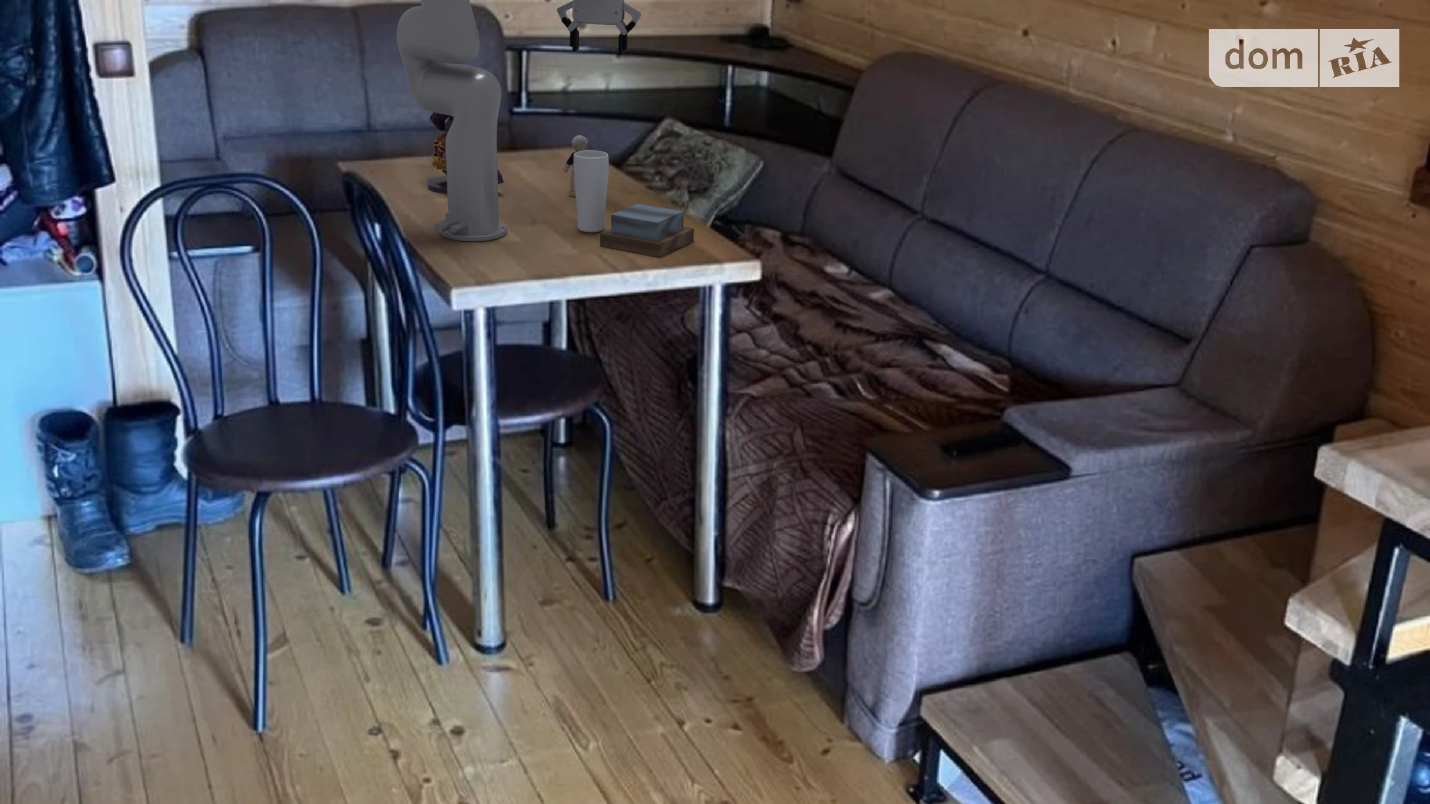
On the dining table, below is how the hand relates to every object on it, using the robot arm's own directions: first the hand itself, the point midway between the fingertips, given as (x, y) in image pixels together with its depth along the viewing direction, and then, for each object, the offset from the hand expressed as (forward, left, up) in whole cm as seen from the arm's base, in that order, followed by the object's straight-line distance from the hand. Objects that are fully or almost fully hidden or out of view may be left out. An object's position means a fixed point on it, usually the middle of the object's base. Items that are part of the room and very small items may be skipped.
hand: (598, 52), depth 295 cm
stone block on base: (-25, -27, -30) cm, 48 cm away
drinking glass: (-23, -13, -30) cm, 40 cm away
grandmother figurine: (-1, +4, -30) cm, 30 cm away
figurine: (-11, +28, -30) cm, 43 cm away
